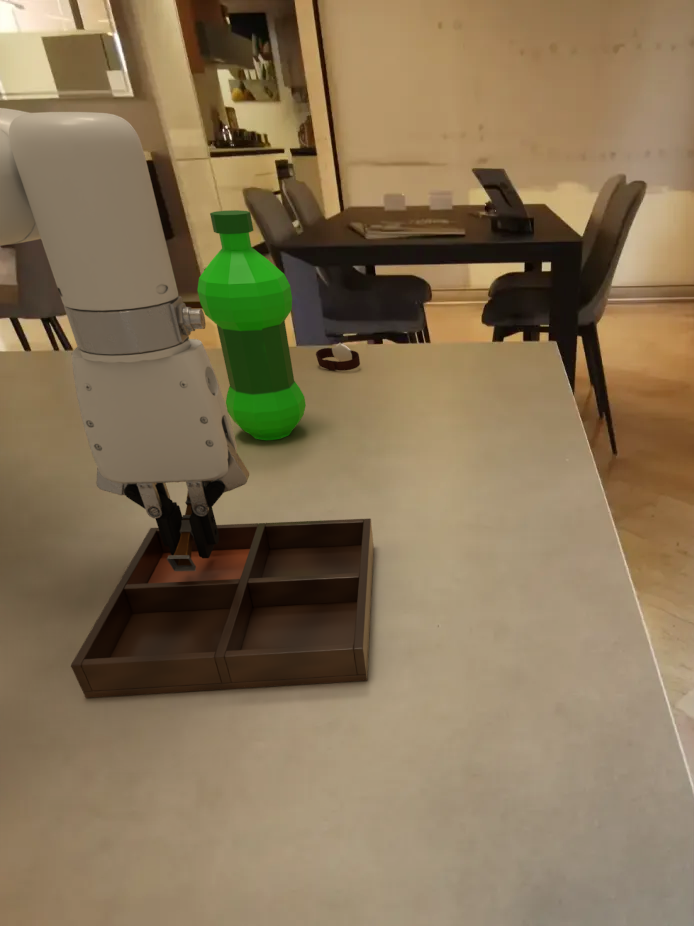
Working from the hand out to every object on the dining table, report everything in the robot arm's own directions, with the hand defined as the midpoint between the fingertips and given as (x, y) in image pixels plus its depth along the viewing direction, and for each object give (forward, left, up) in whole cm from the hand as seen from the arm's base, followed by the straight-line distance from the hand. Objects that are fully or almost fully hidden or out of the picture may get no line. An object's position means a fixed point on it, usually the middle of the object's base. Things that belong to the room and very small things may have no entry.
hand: (194, 550), depth 61 cm
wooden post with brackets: (0, 0, 0) cm, 0 cm away
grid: (+5, -5, -3) cm, 8 cm away
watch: (+8, +66, -4) cm, 67 cm away
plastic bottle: (+1, +37, -4) cm, 37 cm away
